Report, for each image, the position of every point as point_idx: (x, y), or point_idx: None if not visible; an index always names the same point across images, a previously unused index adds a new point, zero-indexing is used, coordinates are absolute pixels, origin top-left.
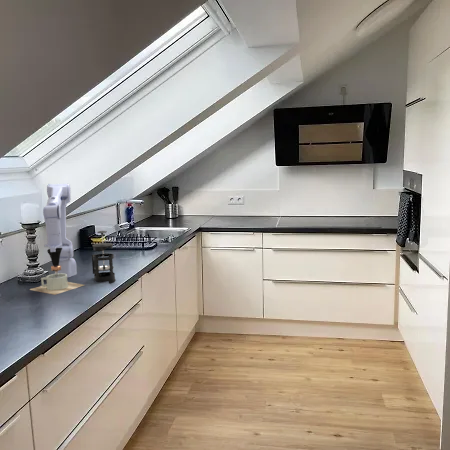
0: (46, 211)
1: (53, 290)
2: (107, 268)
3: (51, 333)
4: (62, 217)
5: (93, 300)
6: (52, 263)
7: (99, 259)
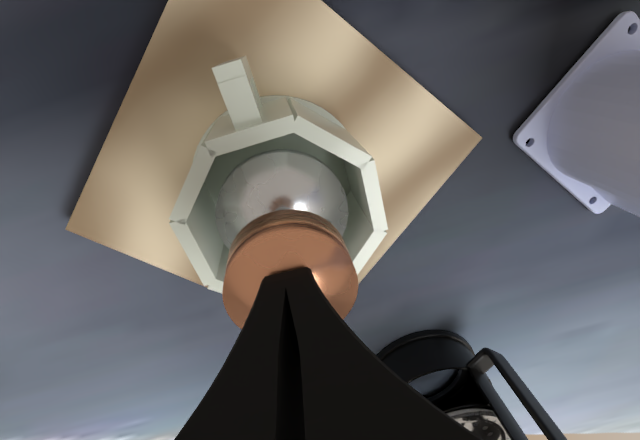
0: None
1: (184, 180)
2: None
3: None
4: None
5: (56, 424)
6: (255, 298)
7: None
